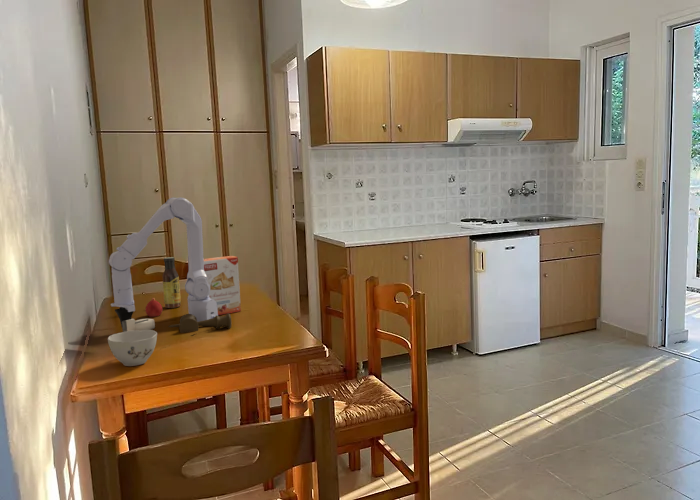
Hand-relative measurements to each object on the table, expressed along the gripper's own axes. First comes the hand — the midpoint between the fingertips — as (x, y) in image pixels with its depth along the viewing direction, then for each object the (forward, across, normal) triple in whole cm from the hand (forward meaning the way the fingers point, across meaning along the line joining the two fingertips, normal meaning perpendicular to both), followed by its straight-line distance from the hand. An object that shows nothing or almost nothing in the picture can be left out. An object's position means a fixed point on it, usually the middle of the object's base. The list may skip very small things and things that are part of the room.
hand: (126, 329), depth 178 cm
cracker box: (+2, -4, +35) cm, 36 cm away
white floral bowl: (+2, +30, -7) cm, 30 cm away
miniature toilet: (+1, 0, +4) cm, 4 cm away
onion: (+3, -15, +14) cm, 21 cm away
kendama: (+2, +13, +19) cm, 24 cm away
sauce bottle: (+3, -30, +27) cm, 41 cm away
